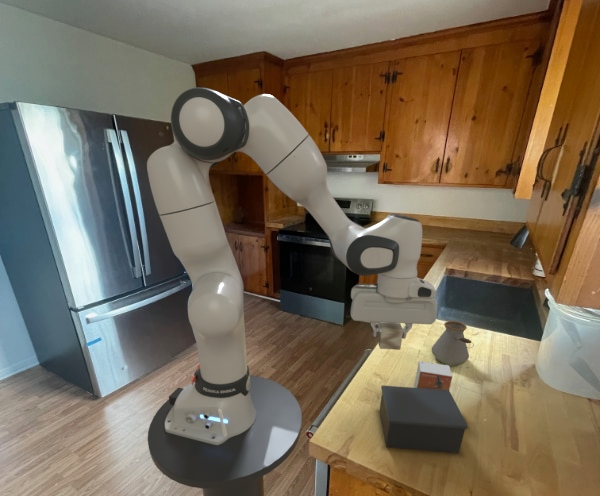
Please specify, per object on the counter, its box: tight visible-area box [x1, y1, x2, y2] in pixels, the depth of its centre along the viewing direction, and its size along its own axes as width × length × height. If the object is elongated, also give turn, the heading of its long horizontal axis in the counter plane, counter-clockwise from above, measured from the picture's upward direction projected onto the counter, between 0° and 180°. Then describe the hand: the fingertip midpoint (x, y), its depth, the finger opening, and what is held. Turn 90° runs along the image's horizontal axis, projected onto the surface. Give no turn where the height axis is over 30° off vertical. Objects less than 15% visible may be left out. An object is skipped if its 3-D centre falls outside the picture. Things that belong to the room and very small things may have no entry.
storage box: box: [379, 384, 469, 454], centre depth 78 cm, size 17×13×8 cm
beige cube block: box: [376, 322, 404, 351], centre depth 83 cm, size 5×6×6 cm
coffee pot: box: [431, 320, 475, 367], centre depth 103 cm, size 21×12×15 cm, turn 169°
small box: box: [413, 360, 453, 391], centre depth 88 cm, size 8×6×10 cm
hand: (389, 336), depth 83 cm, fingers closed on beige cube block, 5 cm apart
